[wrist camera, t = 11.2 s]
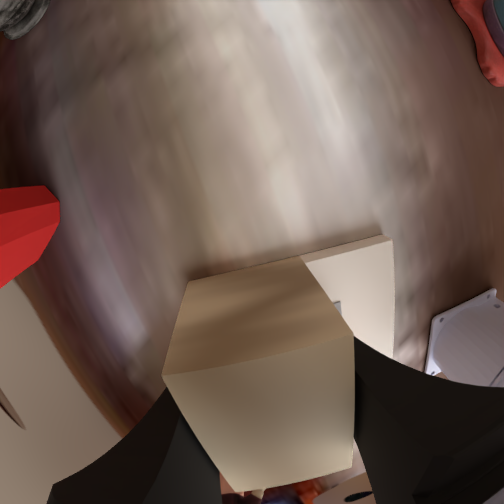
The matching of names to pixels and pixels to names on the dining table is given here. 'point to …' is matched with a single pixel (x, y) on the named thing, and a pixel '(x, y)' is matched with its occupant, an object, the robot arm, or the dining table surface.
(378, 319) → the tower plate
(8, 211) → the french fries
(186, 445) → the robot arm
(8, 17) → the grey stone statuette
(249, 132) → the dining table surface
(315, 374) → the birch brick
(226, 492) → the grandmother figurine
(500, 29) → the stacking bear
